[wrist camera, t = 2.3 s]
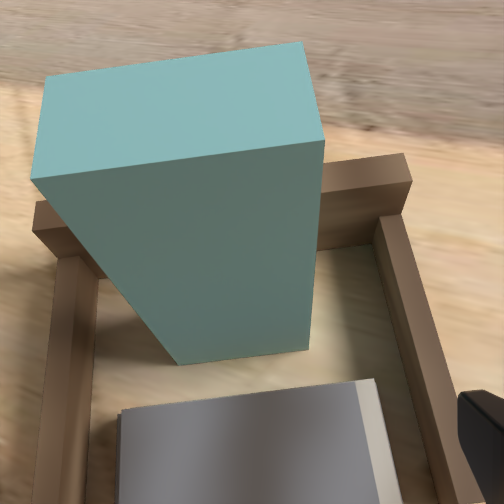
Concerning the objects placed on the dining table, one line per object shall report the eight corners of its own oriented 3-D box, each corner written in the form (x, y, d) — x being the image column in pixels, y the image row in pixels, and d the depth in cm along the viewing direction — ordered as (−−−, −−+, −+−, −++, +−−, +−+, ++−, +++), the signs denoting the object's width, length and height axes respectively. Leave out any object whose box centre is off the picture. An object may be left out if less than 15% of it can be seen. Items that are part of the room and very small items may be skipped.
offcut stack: (119, 550, 19) (97, 555, 16) (123, 417, 21) (104, 406, 19) (402, 517, 18) (415, 518, 16) (373, 386, 21) (381, 372, 19)
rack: (57, 550, 19) (-16, 562, 14) (81, 255, 25) (36, 201, 21) (465, 503, 18) (518, 499, 14) (384, 216, 25) (403, 152, 20)
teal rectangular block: (178, 365, 22) (30, 178, 10) (176, 305, 23) (45, 76, 11) (308, 349, 22) (325, 139, 10) (298, 289, 23) (301, 41, 11)
